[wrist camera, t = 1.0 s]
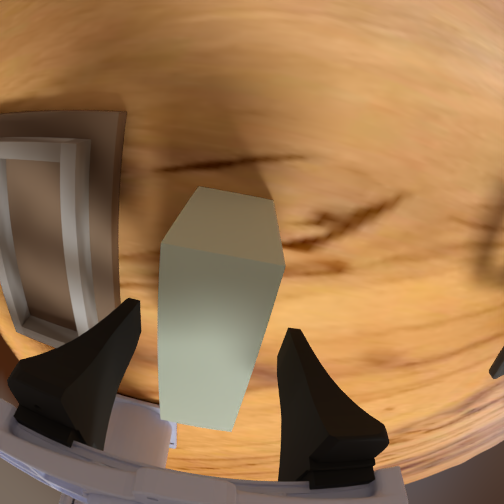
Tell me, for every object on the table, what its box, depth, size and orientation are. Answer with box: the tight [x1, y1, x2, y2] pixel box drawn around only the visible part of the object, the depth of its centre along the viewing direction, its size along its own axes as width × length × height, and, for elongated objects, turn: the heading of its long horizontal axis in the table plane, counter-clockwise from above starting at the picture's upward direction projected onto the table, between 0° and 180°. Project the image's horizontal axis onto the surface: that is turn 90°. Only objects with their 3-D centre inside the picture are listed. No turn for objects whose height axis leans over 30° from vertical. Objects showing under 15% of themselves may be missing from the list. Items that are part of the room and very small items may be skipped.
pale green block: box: [158, 186, 285, 432], centre depth 15 cm, size 11×4×7 cm, turn 168°
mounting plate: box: [0, 110, 127, 348], centre depth 16 cm, size 18×11×2 cm, turn 168°
